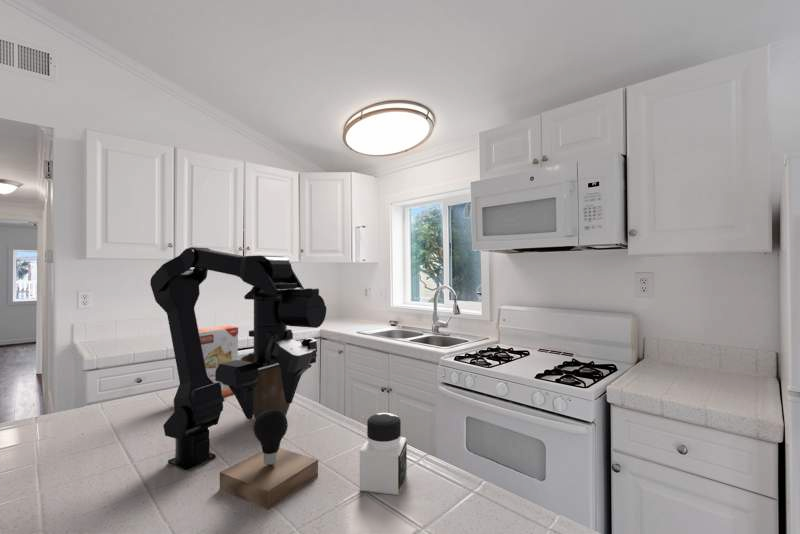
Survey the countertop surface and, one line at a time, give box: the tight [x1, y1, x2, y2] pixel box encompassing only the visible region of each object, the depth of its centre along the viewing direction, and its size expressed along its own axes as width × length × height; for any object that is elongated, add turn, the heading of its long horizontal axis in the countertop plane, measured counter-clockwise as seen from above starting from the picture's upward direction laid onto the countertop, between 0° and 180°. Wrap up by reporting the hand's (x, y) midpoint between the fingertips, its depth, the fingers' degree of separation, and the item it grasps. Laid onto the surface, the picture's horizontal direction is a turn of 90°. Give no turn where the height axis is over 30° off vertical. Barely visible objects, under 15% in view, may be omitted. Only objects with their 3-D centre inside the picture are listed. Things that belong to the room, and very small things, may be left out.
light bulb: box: [253, 409, 288, 466], centre depth 72 cm, size 6×6×10 cm
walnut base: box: [219, 447, 319, 510], centre depth 72 cm, size 12×12×3 cm
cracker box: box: [198, 325, 239, 398], centre depth 119 cm, size 14×6×21 cm, turn 147°
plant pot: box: [239, 354, 291, 421], centre depth 103 cm, size 15×15×16 cm
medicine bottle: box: [359, 412, 408, 496], centre depth 72 cm, size 7×7×12 cm
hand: (270, 410), depth 72 cm, fingers open, 9 cm apart
